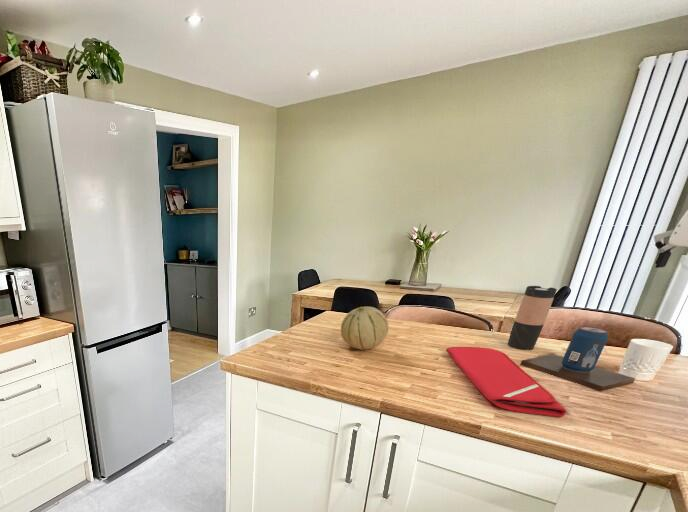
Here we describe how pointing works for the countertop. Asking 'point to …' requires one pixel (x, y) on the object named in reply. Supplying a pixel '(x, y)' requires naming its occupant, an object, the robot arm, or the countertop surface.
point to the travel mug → (531, 317)
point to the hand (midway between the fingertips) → (684, 269)
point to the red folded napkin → (504, 381)
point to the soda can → (584, 349)
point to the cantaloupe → (364, 328)
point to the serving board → (578, 373)
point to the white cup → (644, 358)
